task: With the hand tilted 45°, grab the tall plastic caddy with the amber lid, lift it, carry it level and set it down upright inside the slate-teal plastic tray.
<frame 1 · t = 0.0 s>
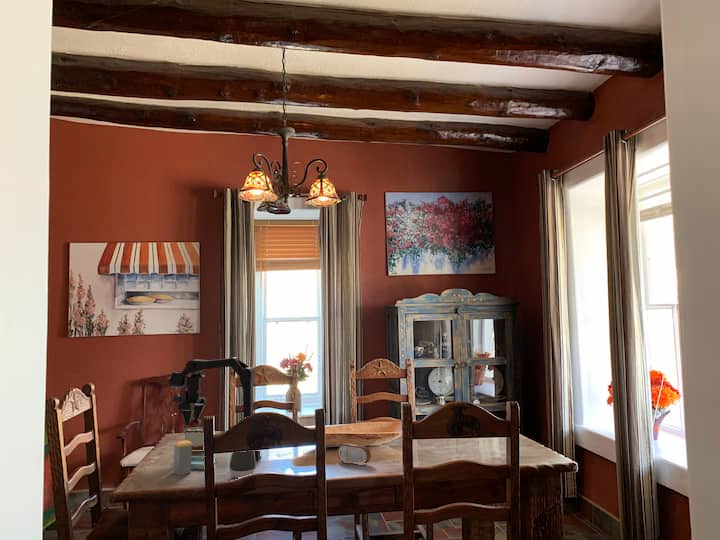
hand: (191, 423, 232), 15 cm above the table, tool pointing down, fingers open, 9 cm apart
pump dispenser: (242, 477, 202), on the table
caddy: (182, 473, 206), on the table
food container: (198, 450, 242), on the table
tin: (353, 464, 221), on the table
tray: (198, 465, 217), on the table
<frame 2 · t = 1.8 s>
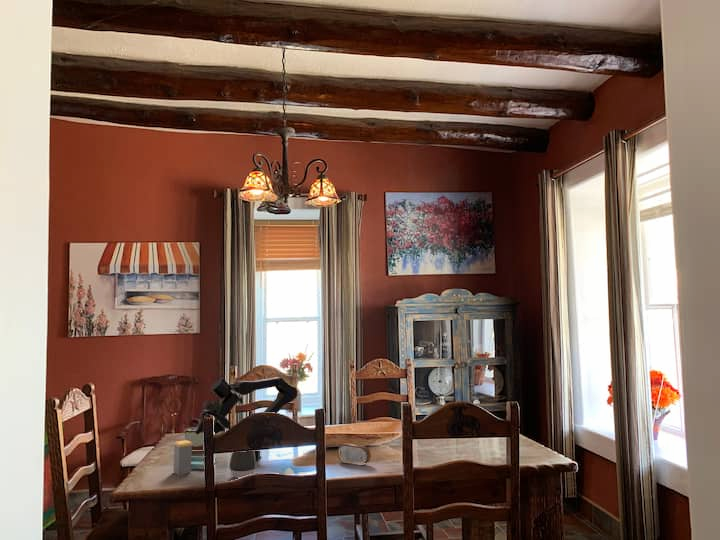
hand: (201, 435, 213), 13 cm above the table, tool tilted 45°, fingers open, 9 cm apart
nothing on the table moved.
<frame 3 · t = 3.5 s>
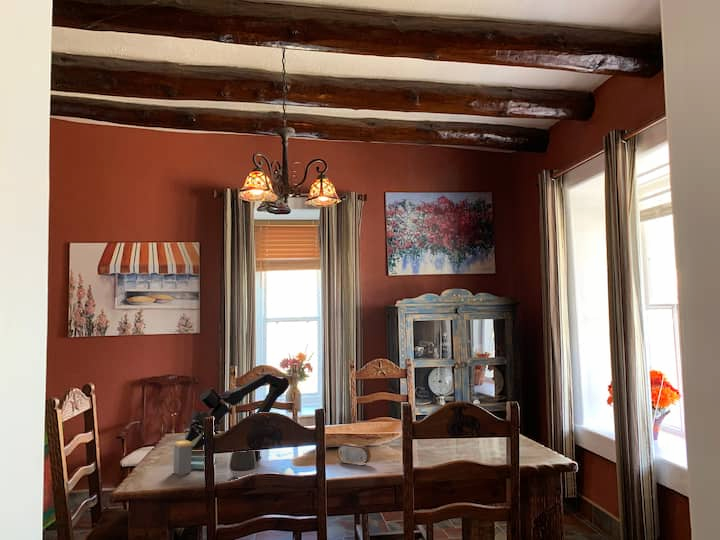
hand: (188, 446, 209), 10 cm above the table, tool tilted 45°, fingers open, 9 cm apart
nothing on the table moved.
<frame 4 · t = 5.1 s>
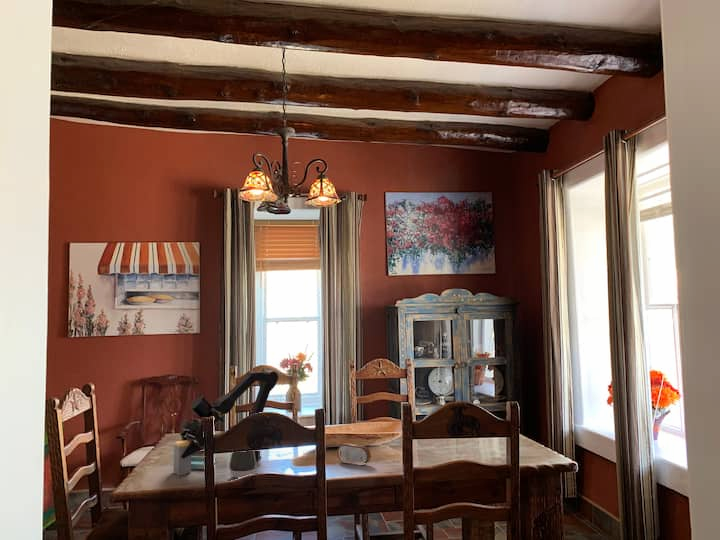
hand: (179, 456, 206), 7 cm above the table, tool tilted 45°, fingers closed on caddy, 5 cm apart
caddy: (181, 472, 206), on the table, touching gripper
everything else where it was.
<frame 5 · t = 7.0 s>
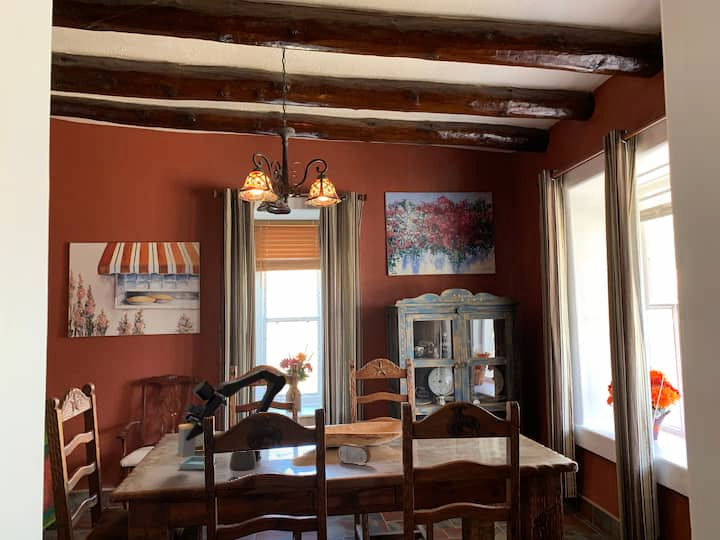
hand: (183, 439, 209), 13 cm above the table, tool tilted 45°, fingers closed on caddy, 5 cm apart
caddy: (186, 455, 209), point 6 cm above the table, touching gripper
everything else where it was.
when the fingers open (8 cm above the table, at t = 9.1 s): caddy drops 1 cm, resting on tray.
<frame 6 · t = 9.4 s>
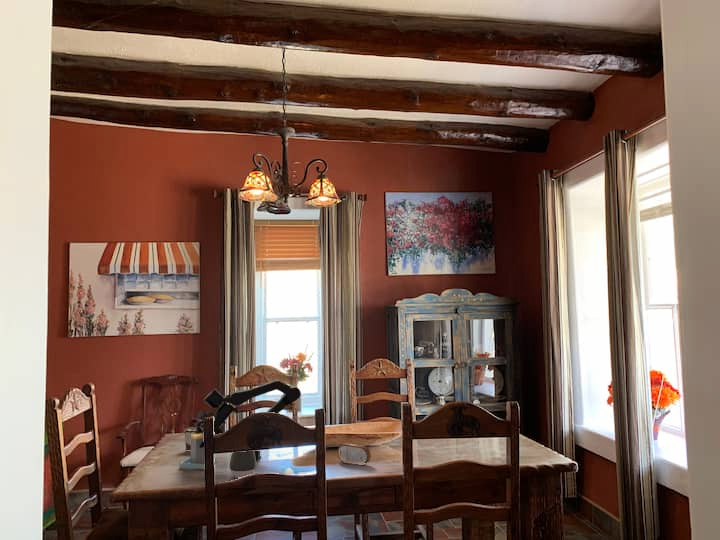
hand: (195, 445, 217), 8 cm above the table, tool tilted 45°, fingers open, 8 cm apart
caddy: (198, 464, 217), point 1 cm above the table, touching tray
everything else where it was.
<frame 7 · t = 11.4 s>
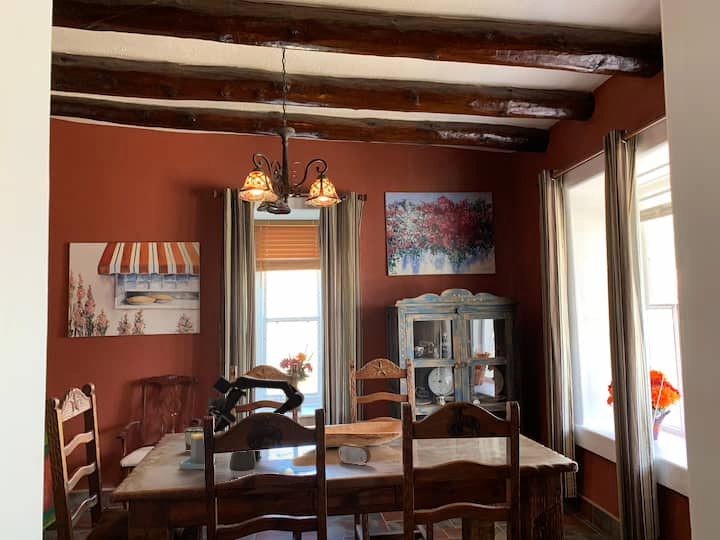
hand: (208, 431, 221), 13 cm above the table, tool tilted 40°, fingers open, 9 cm apart
nothing on the table moved.
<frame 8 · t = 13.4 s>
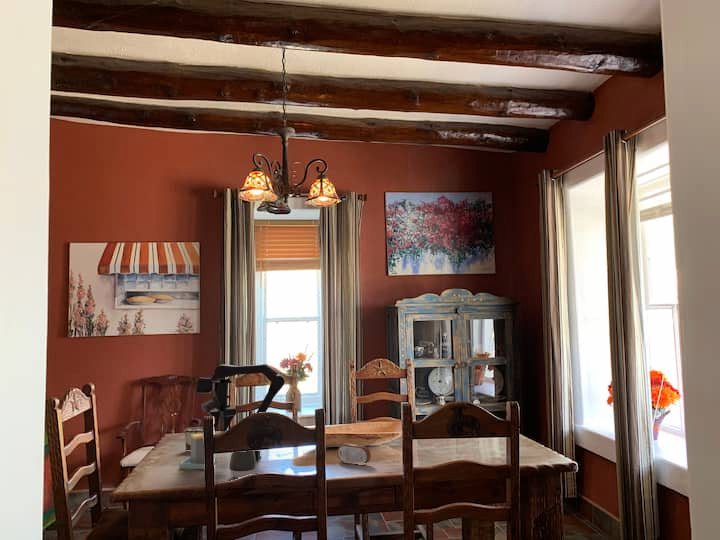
hand: (220, 429, 227), 13 cm above the table, tool pointing down, fingers open, 9 cm apart
nothing on the table moved.
at the end: caddy 0.0 cm off-centre on the tray, point 0.6 cm above the tray's base; caddy tilted 0°; the gripper is holding nothing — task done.
